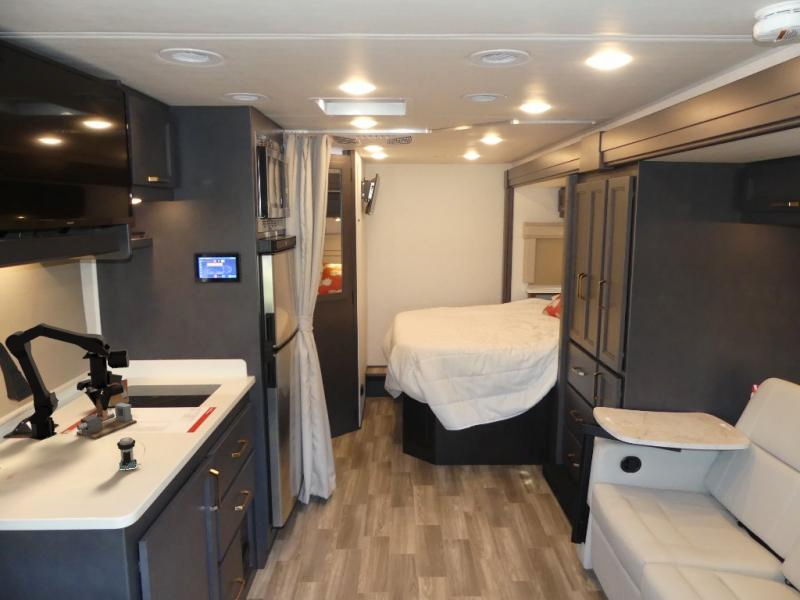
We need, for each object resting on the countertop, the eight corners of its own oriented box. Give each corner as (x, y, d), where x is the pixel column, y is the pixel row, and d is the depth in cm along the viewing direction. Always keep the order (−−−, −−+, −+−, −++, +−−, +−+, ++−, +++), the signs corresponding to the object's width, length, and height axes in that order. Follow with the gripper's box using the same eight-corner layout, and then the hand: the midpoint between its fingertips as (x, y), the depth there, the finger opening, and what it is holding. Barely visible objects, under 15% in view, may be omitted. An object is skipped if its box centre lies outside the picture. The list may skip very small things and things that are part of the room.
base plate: (95, 439, 211) (95, 436, 211) (76, 434, 215) (76, 432, 215) (136, 422, 227) (136, 420, 227) (118, 418, 231) (118, 416, 231)
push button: (143, 464, 191) (141, 435, 190) (138, 472, 186) (136, 442, 184) (122, 465, 190) (120, 436, 189) (116, 473, 185) (114, 443, 184)
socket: (126, 422, 225) (124, 407, 224) (115, 419, 228) (114, 404, 227) (132, 419, 228) (131, 404, 227) (122, 417, 230) (121, 402, 229)
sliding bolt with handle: (82, 431, 210) (79, 407, 208) (76, 429, 211) (73, 405, 210) (115, 418, 222) (114, 395, 221) (110, 417, 224) (108, 394, 222)
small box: (110, 407, 244) (108, 383, 242) (103, 404, 247) (101, 380, 246) (129, 402, 250) (127, 378, 249) (122, 399, 254) (120, 376, 252)
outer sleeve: (89, 435, 212) (88, 421, 211) (81, 433, 214) (80, 419, 213) (102, 430, 217) (101, 416, 216) (95, 428, 219) (94, 414, 218)
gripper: (134, 367, 219) (137, 406, 222) (100, 361, 227) (103, 399, 230) (108, 374, 209) (112, 416, 212) (74, 368, 217) (77, 408, 220)
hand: (101, 409), depth 218 cm, fingers closed on sliding bolt with handle, 3 cm apart
